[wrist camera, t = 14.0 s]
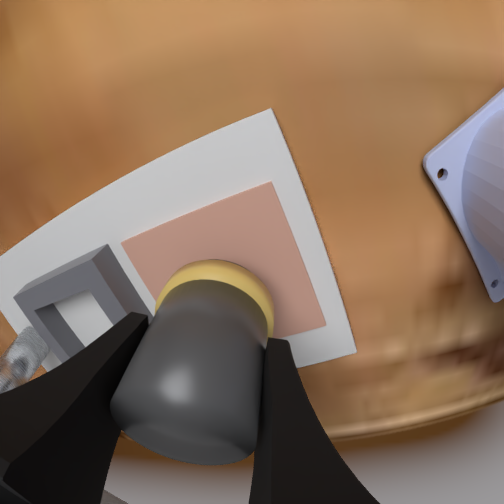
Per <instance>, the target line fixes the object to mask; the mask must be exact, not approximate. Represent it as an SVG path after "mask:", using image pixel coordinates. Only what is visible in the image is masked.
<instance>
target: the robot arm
mask: <svg viewBox="0 0 504 504" xmlns="http://www.w3.org/2000/svg"><path fill="white" fill-rule="evenodd" d="M423 167H424V169H425V171H426V173H427V174H428V176H429V178H430V179H431V181H432V183H433V184H434V186H435V187H436V189H437V191H438V193H439V194H440V196H441V198H442V199H443V201H444V203H445V205H446V206H447V208H448V210H449V212H450V214H451V215H452V217H453V219H454V221H455V223H456V225H457V227H458V229H459V231H460V233H461V235H462V237H463V239H464V241H465V243H466V245H467V247H468V249H469V251H470V253H471V255H472V257H473V259H474V262H475V264H476V266H477V268H478V270H479V273H480V275H481V277H482V280H483V282H484V284H485V287H486V289H487V292H488V294H489V297H490V298H491V300H492V301H493V302H495V303H496V302H499V301H500V300H502V299H503V298H504V88H503V89H502V90H500V91H499V92H498V93H497V94H496V95H495V96H494V97H493V98H491V99H490V100H489V101H488V102H487V103H486V104H485V105H483V106H482V107H481V108H480V109H479V110H478V111H476V112H475V113H474V114H473V115H472V116H471V117H469V118H468V119H467V120H466V121H465V122H464V123H462V124H461V125H460V126H459V127H458V128H457V129H455V130H454V131H453V132H452V133H451V134H449V135H448V136H447V137H446V138H445V139H443V140H442V141H441V142H440V143H439V144H438V145H436V146H435V147H434V148H433V149H432V150H430V151H429V152H428V153H427V154H426V155H425V156H424V159H423ZM441 168H443V170H444V174H443V176H442V177H441V178H438V177H437V173H438V171H439V169H441ZM494 280H495V281H494ZM493 281H494V282H493ZM492 282H493V283H492ZM148 327H149V321H148V315H145V314H140V313H136V312H130V313H129V314H128V315H126V316H125V317H124V318H122V319H121V320H120V321H119V322H117V323H116V324H115V325H114V326H112V327H111V328H110V329H109V330H107V331H106V332H105V333H104V334H102V335H101V336H100V337H98V338H97V339H96V340H94V341H93V342H92V343H90V344H89V345H88V346H87V347H85V348H84V349H82V350H81V351H80V352H78V353H77V354H75V355H74V356H72V357H71V358H69V359H68V360H67V361H65V362H64V363H62V364H60V365H59V366H57V367H56V368H54V369H52V370H50V371H49V372H47V373H45V374H43V375H41V376H40V377H38V378H36V379H34V380H31V381H29V382H27V383H25V384H23V385H21V386H18V387H16V388H14V389H11V390H9V391H6V392H3V393H1V394H0V504H101V499H102V494H103V490H104V485H105V481H106V477H107V473H108V469H109V466H110V462H111V459H112V456H113V452H114V449H115V446H116V443H117V440H118V437H119V435H120V432H121V430H122V429H121V428H120V427H119V426H118V425H117V423H116V422H115V420H114V419H113V417H112V414H111V411H110V402H111V399H112V397H113V395H114V393H115V391H116V389H117V387H118V385H119V383H120V381H121V379H122V377H123V375H124V373H125V371H126V369H127V367H128V365H129V363H130V361H131V359H132V357H133V355H134V353H135V351H136V350H137V348H138V346H139V344H140V342H141V340H142V338H143V336H144V334H145V332H146V331H147V329H148ZM254 451H255V452H254V470H253V477H252V485H251V492H250V498H249V504H380V503H379V502H378V501H377V500H376V499H375V498H374V497H373V496H372V495H371V494H370V493H369V492H368V490H367V489H366V488H365V487H364V486H363V485H362V484H361V483H360V481H359V480H358V479H357V478H356V476H355V475H354V474H353V473H352V471H351V470H350V468H349V467H348V466H347V465H346V464H345V462H344V461H343V459H342V458H341V456H340V455H339V453H338V452H337V450H336V449H335V447H334V446H333V444H332V443H331V441H330V439H329V438H328V436H327V434H326V433H325V431H324V429H323V427H322V426H321V424H320V422H319V420H318V418H317V416H316V414H315V412H314V410H313V408H312V406H311V404H310V401H309V399H308V397H307V394H306V392H305V389H304V387H303V385H302V382H301V380H300V377H299V374H298V371H297V368H296V365H295V362H294V359H293V355H292V352H291V347H290V343H289V342H288V340H284V339H277V338H270V337H268V341H267V345H266V350H265V360H264V370H263V386H262V397H261V407H260V416H259V426H258V435H257V444H256V448H255V450H254Z"/></svg>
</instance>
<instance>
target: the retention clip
mask: <svg viewBox="0 0 504 504" xmlns="http://www.w3.org/2000/svg"><path fill="white" fill-rule="evenodd" d="M49 352H50V348H49V347H48V345H47V344H46V343H45V342H44V340H43V339H42V338H41V336H40V335H39V334H38V332H37V331H36V330H35V328H33V327H30V326H27V327H25V328H24V329H23V330H22V332H21V333H20V334H19V335H18V336H17V338H16V339H15V340H14V341H13V342H12V344H11V345H10V346H9V347H8V348H7V350H6V351H5V352H4V353H3V355H2V356H1V357H0V394H1V393H3V392H6V391H9V390H11V389H14V388H16V387H18V386H21V385H23V384H25V383H27V382H29V381H30V379H31V378H32V376H33V375H34V373H35V372H36V370H37V369H38V368H39V366H40V365H41V363H42V362H43V361H44V359H45V358H46V356H47V355H48V354H49ZM101 504H128V503H127V502H125V501H123V500H121V499H120V498H118V497H116V496H114V495H113V494H111V493H109V492H108V491H106V490H103V494H102V499H101Z"/></svg>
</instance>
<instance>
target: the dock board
mask: <svg viewBox="0 0 504 504" xmlns="http://www.w3.org/2000/svg"><path fill="white" fill-rule="evenodd" d="M269 181H272V184H273V186H274V189H275V191H276V194H277V196H278V198H279V201H280V203H281V206H282V208H283V211H284V213H285V216H286V218H287V221H288V223H289V226H290V228H291V231H292V233H293V236H294V239H295V241H296V244H297V246H298V249H299V251H300V254H301V257H302V259H303V262H304V265H305V267H306V270H307V272H308V275H309V278H310V280H311V283H312V286H313V289H314V291H315V294H316V297H317V299H318V302H319V305H320V308H321V310H322V313H323V316H324V319H325V321H326V326H323V327H320V328H316V329H313V330H309V331H305V332H302V333H298V334H294V335H290V336H286V337H283V338H279V339H284V340H288V342H289V343H290V347H291V352H292V355H293V359H294V362H295V365H296V368H300V367H304V366H308V365H312V364H316V363H320V362H324V361H328V360H331V359H335V358H339V357H342V356H346V355H350V354H353V353H357V350H356V345H355V341H354V337H353V334H352V330H351V327H350V324H349V320H348V317H347V313H346V310H345V307H344V304H343V300H342V297H341V294H340V291H339V288H338V284H337V281H336V278H335V275H334V272H333V269H332V266H331V263H330V260H329V257H328V254H327V251H326V248H325V245H324V242H323V239H322V236H321V233H320V230H319V228H318V225H317V222H316V219H315V216H314V214H313V211H312V208H311V205H310V203H309V200H308V197H307V194H306V192H305V189H304V186H303V184H302V181H301V178H300V176H299V173H298V171H297V168H296V166H295V163H294V160H293V158H292V155H291V153H290V150H289V148H288V145H287V143H286V140H285V138H284V136H283V133H282V131H281V128H280V126H279V123H278V121H277V119H276V116H275V114H274V112H273V109H272V108H270V109H267V110H265V111H262V112H260V113H257V114H255V115H252V116H250V117H247V118H245V119H242V120H240V121H237V122H235V123H232V124H230V125H228V126H225V127H223V128H221V129H218V130H216V131H214V132H212V133H209V134H207V135H205V136H203V137H201V138H198V139H196V140H194V141H192V142H190V143H188V144H186V145H183V146H181V147H179V148H177V149H175V150H173V151H171V152H169V153H167V154H165V155H163V156H161V157H159V158H157V159H155V160H153V161H151V162H149V163H147V164H145V165H144V166H142V167H140V168H138V169H136V170H134V171H132V172H131V173H129V174H127V175H125V176H123V177H121V178H120V179H118V180H116V181H114V182H113V183H111V184H109V185H107V186H106V187H104V188H102V189H100V190H99V191H97V192H95V193H94V194H92V195H90V196H89V197H87V198H85V199H84V200H82V201H80V202H79V203H77V204H76V205H74V206H72V207H71V208H69V209H68V210H66V211H65V212H63V213H61V214H60V215H58V216H57V217H55V218H54V219H52V220H51V221H49V222H48V223H46V224H45V225H43V226H42V227H40V228H39V229H37V230H36V231H35V232H33V233H32V234H30V235H29V236H27V237H26V238H25V239H23V240H22V241H20V242H19V243H18V244H16V245H15V246H14V247H12V248H11V249H10V250H8V251H7V252H6V253H4V254H3V255H2V256H0V310H1V312H2V313H3V315H4V316H5V318H6V319H7V320H8V322H9V323H10V325H11V326H12V327H13V329H14V330H15V332H16V333H17V334H18V335H19V334H20V333H21V332H22V330H23V329H24V328H25V327H27V326H30V327H33V328H35V330H36V331H37V332H38V334H39V335H40V336H41V338H42V339H43V340H44V342H45V343H46V344H47V345H48V347H49V348H50V352H49V354H48V355H47V356H46V358H45V359H44V361H43V362H42V363H41V365H42V366H43V367H44V368H45V369H46V370H47V372H49V371H50V370H52V369H54V368H56V367H57V366H59V365H60V364H62V363H64V362H65V361H67V360H68V359H69V358H71V357H72V356H74V355H75V354H77V353H78V352H80V351H81V350H82V349H84V348H85V347H87V346H88V345H89V344H90V343H92V342H93V341H94V340H96V339H97V338H98V337H100V336H101V335H102V334H104V333H105V332H106V331H107V330H109V329H110V328H111V327H112V326H114V325H115V324H116V323H117V322H119V321H120V320H121V319H122V318H124V317H125V316H126V315H128V314H129V313H130V312H136V313H140V314H145V315H148V321H149V325H150V323H151V321H152V319H153V317H154V316H155V305H156V301H155V300H154V298H153V297H152V295H151V293H150V292H149V290H148V289H147V287H146V285H145V284H144V282H143V281H142V279H141V277H140V276H139V274H138V272H137V271H136V269H135V267H134V266H133V264H132V262H131V261H130V259H129V257H128V256H127V254H126V252H125V250H124V249H123V247H122V245H121V242H122V241H124V240H126V239H129V238H131V237H133V236H136V235H138V234H140V233H142V232H145V231H147V230H149V229H152V228H154V227H156V226H159V225H161V224H163V223H166V222H168V221H170V220H173V219H175V218H178V217H180V216H182V215H185V214H187V213H190V212H192V211H195V210H197V209H199V208H202V207H204V206H207V205H209V204H212V203H214V202H217V201H220V200H222V199H225V198H227V197H230V196H232V195H235V194H238V193H240V192H243V191H245V190H248V189H251V188H253V187H256V186H259V185H261V184H264V183H267V182H269Z"/></svg>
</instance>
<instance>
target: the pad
mask: <svg viewBox="0 0 504 504" xmlns="http://www.w3.org/2000/svg"><path fill="white" fill-rule="evenodd" d="M121 245H122V247H123V249H124V250H125V252H126V254H127V256H128V257H129V259H130V261H131V262H132V264H133V266H134V267H135V269H136V271H137V272H138V274H139V276H140V277H141V279H142V281H143V282H144V284H145V285H146V287H147V289H148V290H149V292H150V293H151V295H152V297H153V298H154V300H155V301H157V299H158V297H159V295H160V293H161V291H162V290H163V288H164V286H165V285H166V283H167V281H168V280H169V278H170V277H171V276H172V274H173V273H174V272H175V271H177V270H178V269H179V268H181V267H182V266H184V265H186V264H189V263H191V262H195V261H199V260H208V259H219V260H226V261H230V262H233V263H236V264H238V265H240V266H242V267H244V268H246V269H247V270H249V271H250V272H252V273H253V274H254V275H255V276H256V277H258V278H259V279H260V280H261V281H262V282H263V284H264V285H265V286H266V288H267V289H268V291H269V293H270V295H271V297H272V300H273V303H274V328H273V336H272V338H277V339H279V338H283V337H286V336H290V335H294V334H298V333H302V332H305V331H309V330H313V329H316V328H320V327H323V326H326V321H325V319H324V316H323V313H322V310H321V308H320V305H319V302H318V299H317V297H316V294H315V291H314V289H313V286H312V283H311V280H310V278H309V275H308V272H307V270H306V267H305V265H304V262H303V259H302V257H301V254H300V251H299V249H298V246H297V244H296V241H295V239H294V236H293V233H292V231H291V228H290V226H289V223H288V221H287V218H286V216H285V213H284V211H283V208H282V206H281V203H280V201H279V198H278V196H277V194H276V191H275V189H274V186H273V184H272V181H269V182H267V183H264V184H261V185H259V186H256V187H253V188H251V189H248V190H245V191H243V192H240V193H238V194H235V195H232V196H230V197H227V198H225V199H222V200H220V201H217V202H214V203H212V204H209V205H207V206H204V207H202V208H199V209H197V210H195V211H192V212H190V213H187V214H185V215H182V216H180V217H178V218H175V219H173V220H170V221H168V222H166V223H163V224H161V225H159V226H156V227H154V228H152V229H149V230H147V231H145V232H142V233H140V234H138V235H136V236H133V237H131V238H129V239H126V240H124V241H122V242H121Z"/></svg>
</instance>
